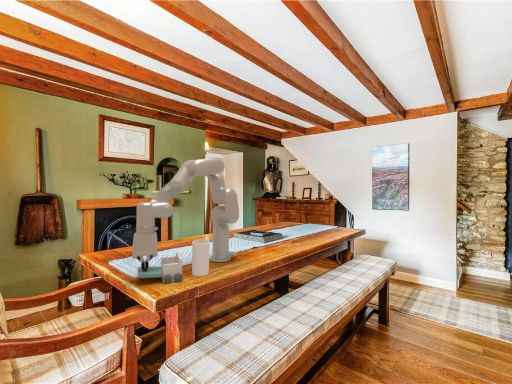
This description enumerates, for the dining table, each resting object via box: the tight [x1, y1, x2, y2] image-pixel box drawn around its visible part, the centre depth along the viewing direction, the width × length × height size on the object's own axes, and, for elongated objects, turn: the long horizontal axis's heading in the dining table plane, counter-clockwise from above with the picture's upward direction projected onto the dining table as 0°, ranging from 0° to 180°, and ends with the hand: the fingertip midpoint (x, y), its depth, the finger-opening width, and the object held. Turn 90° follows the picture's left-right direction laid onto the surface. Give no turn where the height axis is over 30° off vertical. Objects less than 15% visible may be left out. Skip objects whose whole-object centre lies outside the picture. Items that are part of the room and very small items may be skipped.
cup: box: [191, 239, 210, 277], centre depth 126 cm, size 8×8×16 cm
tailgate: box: [137, 266, 163, 279], centre depth 116 cm, size 2×11×10 cm
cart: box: [160, 251, 183, 284], centre depth 120 cm, size 8×14×10 cm, turn 25°
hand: (144, 270), depth 115 cm, fingers closed
